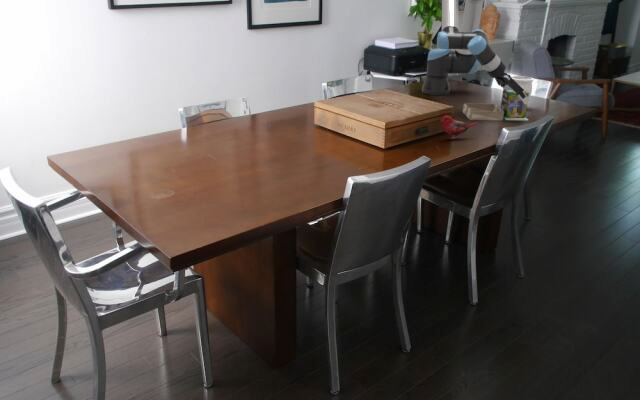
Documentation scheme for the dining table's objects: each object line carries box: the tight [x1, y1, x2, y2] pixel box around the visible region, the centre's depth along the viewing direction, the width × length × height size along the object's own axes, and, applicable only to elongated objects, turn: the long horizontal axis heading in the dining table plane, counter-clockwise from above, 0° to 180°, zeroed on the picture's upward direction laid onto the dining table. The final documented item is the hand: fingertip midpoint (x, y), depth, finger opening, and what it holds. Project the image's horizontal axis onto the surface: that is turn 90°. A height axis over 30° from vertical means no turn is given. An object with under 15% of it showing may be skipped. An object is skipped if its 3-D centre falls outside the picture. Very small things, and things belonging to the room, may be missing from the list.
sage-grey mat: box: [503, 116, 529, 122], centre depth 244 cm, size 14×10×1 cm
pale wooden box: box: [462, 103, 504, 121], centre depth 243 cm, size 15×15×4 cm
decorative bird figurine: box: [440, 115, 480, 140], centre depth 209 cm, size 3×18×10 cm, turn 106°
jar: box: [511, 75, 534, 99], centre depth 255 cm, size 11×10×15 cm
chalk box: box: [500, 88, 529, 118], centre depth 241 cm, size 9×9×15 cm
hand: (519, 98), depth 241 cm, fingers open, 13 cm apart
